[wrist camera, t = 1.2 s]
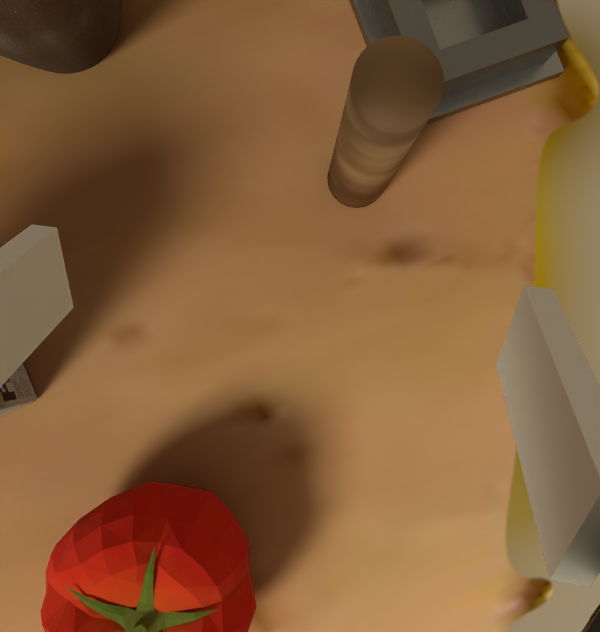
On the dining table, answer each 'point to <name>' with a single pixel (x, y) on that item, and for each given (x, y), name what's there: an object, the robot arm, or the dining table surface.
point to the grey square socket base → (474, 43)
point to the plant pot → (58, 32)
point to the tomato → (151, 566)
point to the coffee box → (16, 391)
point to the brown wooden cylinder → (383, 116)
